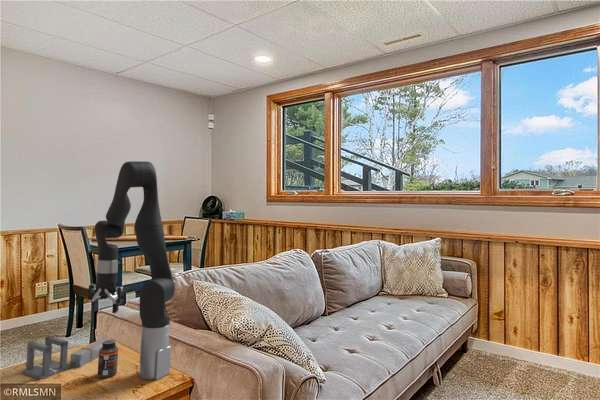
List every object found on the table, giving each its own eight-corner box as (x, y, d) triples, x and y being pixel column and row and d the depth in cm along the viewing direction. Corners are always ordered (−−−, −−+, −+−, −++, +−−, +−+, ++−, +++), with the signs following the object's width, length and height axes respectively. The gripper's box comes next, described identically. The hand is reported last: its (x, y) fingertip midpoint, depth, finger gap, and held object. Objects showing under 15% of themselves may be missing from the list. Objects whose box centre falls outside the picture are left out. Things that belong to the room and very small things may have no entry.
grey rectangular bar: (111, 350, 152) (112, 338, 152) (80, 367, 135) (81, 354, 135) (102, 349, 152) (102, 337, 152) (69, 366, 135) (70, 353, 135)
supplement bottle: (108, 379, 127) (110, 345, 127) (93, 377, 128) (95, 343, 128) (120, 372, 132) (122, 339, 133) (105, 370, 134) (107, 337, 134)
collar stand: (51, 362, 138) (53, 335, 138) (69, 368, 134) (71, 340, 134) (22, 373, 128) (23, 343, 129) (40, 380, 124) (42, 349, 125)
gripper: (84, 271, 148) (82, 312, 147) (117, 273, 146) (115, 316, 145) (97, 268, 155) (95, 307, 155) (129, 270, 153) (127, 310, 153)
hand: (105, 311), depth 150 cm, fingers open, 8 cm apart
